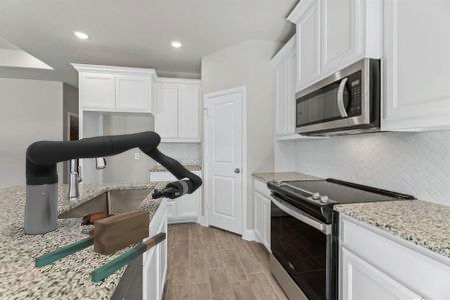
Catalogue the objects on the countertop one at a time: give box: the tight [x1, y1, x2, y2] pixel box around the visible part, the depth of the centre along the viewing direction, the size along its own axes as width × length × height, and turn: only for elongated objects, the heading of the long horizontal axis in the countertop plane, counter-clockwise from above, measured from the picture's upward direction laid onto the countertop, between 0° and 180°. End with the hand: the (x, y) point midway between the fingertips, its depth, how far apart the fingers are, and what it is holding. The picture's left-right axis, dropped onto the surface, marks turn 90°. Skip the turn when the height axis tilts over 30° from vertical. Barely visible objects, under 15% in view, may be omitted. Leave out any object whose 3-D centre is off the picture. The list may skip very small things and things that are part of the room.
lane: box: [34, 231, 167, 283], centre depth 66 cm, size 21×27×2 cm
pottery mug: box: [80, 211, 116, 237], centre depth 83 cm, size 12×10×8 cm
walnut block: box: [93, 208, 151, 256], centre depth 71 cm, size 6×16×9 cm, turn 154°
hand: (153, 196), depth 86 cm, fingers closed
